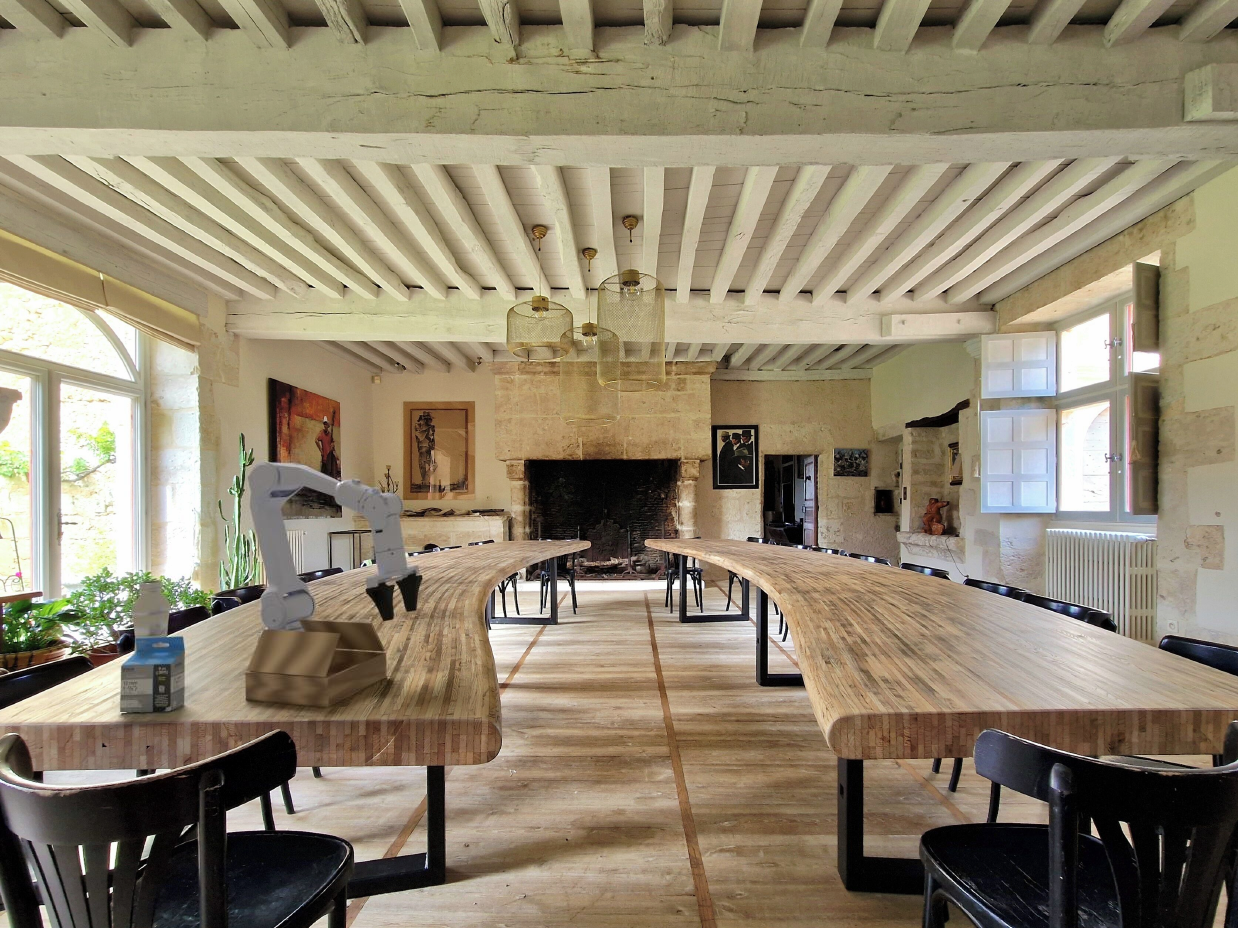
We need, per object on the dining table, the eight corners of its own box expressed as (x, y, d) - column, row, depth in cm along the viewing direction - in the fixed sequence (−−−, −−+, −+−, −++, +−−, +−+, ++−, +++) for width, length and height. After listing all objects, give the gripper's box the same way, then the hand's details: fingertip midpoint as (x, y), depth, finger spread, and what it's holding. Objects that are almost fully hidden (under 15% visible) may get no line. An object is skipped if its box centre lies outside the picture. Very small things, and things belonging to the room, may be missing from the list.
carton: (245, 699, 109) (245, 672, 109) (313, 671, 124) (312, 647, 124) (327, 707, 104) (326, 678, 104) (386, 677, 119) (386, 652, 119)
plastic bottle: (132, 687, 117) (131, 585, 118) (130, 679, 122) (129, 582, 123) (173, 679, 122) (172, 581, 122) (169, 672, 127) (168, 578, 127)
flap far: (298, 619, 121) (299, 618, 121) (313, 647, 124) (314, 645, 124) (370, 623, 116) (371, 621, 116) (383, 651, 119) (385, 650, 120)
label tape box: (118, 714, 104) (118, 643, 104) (136, 705, 108) (136, 637, 108) (170, 712, 104) (169, 641, 104) (186, 703, 108) (185, 635, 108)
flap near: (248, 671, 109) (246, 670, 109) (265, 629, 113) (263, 629, 113) (325, 677, 104) (324, 676, 104) (340, 633, 108) (339, 633, 108)
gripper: (382, 552, 115) (394, 622, 115) (426, 542, 129) (437, 605, 129) (353, 557, 117) (363, 626, 117) (399, 547, 131) (409, 608, 131)
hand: (400, 615), depth 123 cm, fingers open, 7 cm apart
